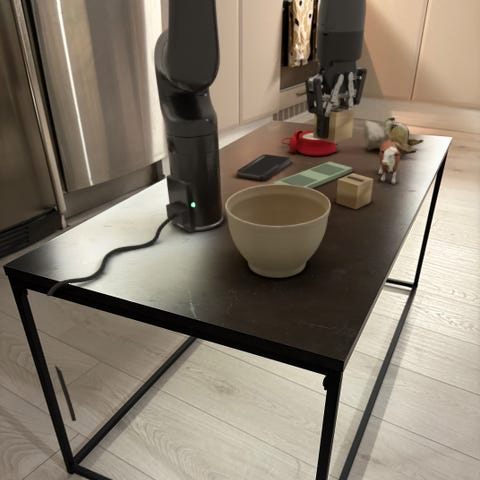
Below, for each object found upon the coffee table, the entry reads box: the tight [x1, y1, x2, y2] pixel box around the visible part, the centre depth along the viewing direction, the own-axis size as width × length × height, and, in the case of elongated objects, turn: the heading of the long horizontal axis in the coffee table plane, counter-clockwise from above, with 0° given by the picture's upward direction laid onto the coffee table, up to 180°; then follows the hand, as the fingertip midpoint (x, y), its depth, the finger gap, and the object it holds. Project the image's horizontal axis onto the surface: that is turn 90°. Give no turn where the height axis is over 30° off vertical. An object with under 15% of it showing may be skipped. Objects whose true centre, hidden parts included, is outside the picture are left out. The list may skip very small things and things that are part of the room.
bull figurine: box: [377, 140, 401, 184], centre depth 113 cm, size 4×13×8 cm, turn 166°
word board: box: [271, 161, 354, 189], centre depth 116 cm, size 20×7×1 cm, turn 133°
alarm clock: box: [280, 129, 338, 156], centre depth 133 cm, size 10×6×15 cm
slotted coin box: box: [335, 172, 374, 210], centre depth 103 cm, size 5×5×5 cm
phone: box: [236, 153, 291, 182], centre depth 122 cm, size 8×1×15 cm
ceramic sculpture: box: [363, 117, 424, 156], centre depth 129 cm, size 11×9×15 cm
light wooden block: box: [312, 103, 356, 144], centre depth 90 cm, size 5×5×5 cm
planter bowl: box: [224, 183, 332, 279], centre depth 80 cm, size 16×16×11 cm
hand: (332, 134), depth 92 cm, fingers closed on light wooden block, 5 cm apart
